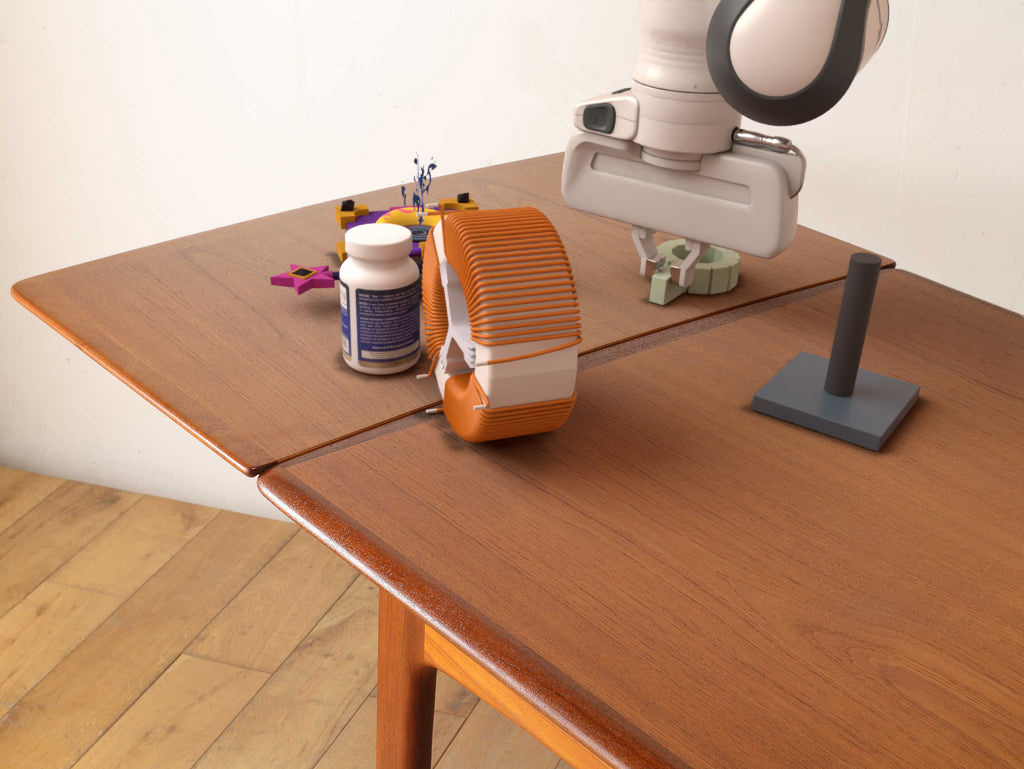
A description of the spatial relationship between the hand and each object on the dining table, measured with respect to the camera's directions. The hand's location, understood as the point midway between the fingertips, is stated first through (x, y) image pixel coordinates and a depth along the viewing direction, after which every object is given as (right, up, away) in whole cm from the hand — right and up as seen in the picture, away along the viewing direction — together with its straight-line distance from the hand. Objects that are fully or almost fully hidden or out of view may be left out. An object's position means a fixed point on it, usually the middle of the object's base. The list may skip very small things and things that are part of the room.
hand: (665, 280), depth 90 cm
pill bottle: (-23, -7, -11) cm, 26 cm away
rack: (+10, -10, -15) cm, 21 cm away
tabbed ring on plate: (+2, 0, +4) cm, 4 cm away
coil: (-15, -12, -19) cm, 27 cm away
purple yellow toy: (-22, +1, +3) cm, 22 cm away
